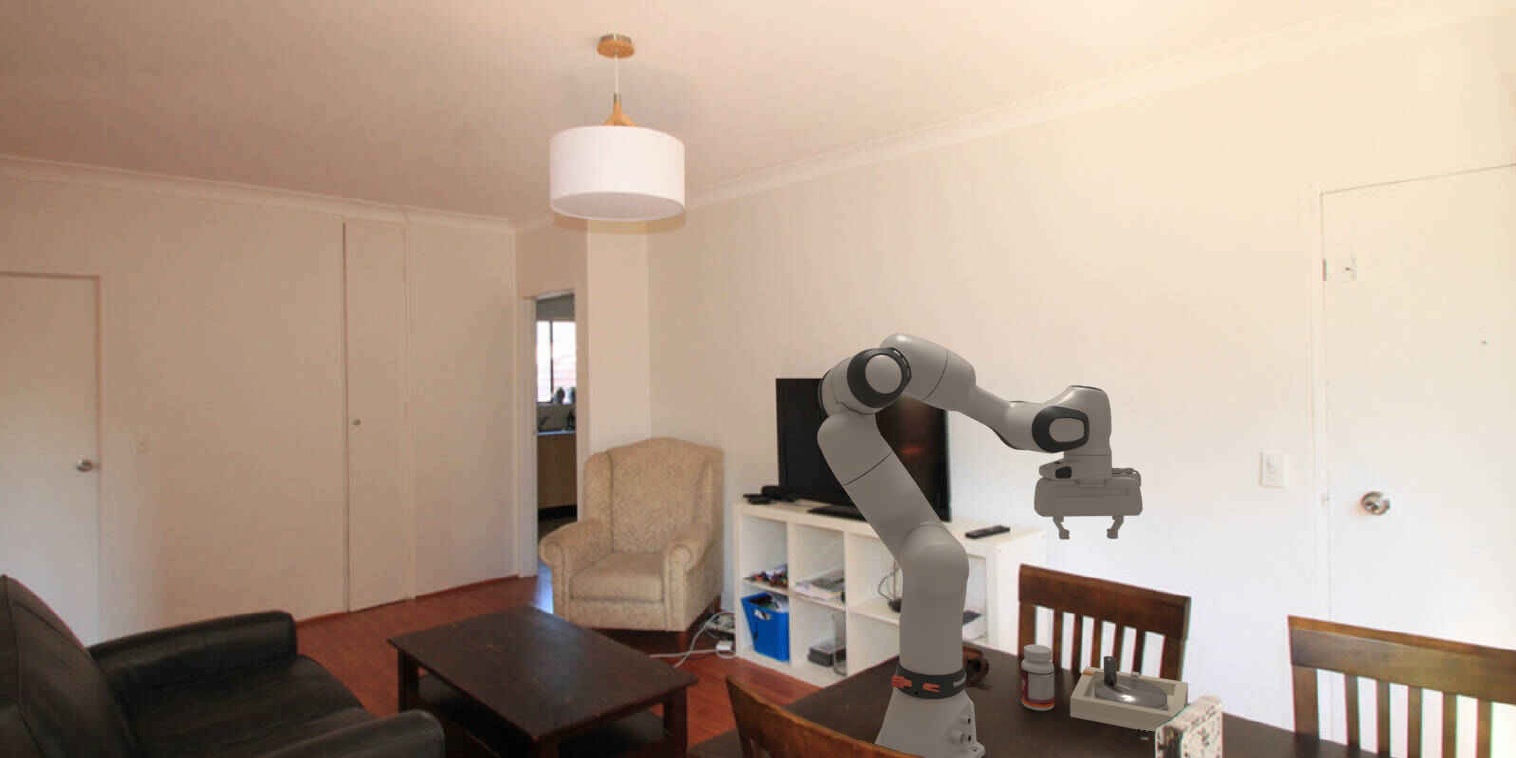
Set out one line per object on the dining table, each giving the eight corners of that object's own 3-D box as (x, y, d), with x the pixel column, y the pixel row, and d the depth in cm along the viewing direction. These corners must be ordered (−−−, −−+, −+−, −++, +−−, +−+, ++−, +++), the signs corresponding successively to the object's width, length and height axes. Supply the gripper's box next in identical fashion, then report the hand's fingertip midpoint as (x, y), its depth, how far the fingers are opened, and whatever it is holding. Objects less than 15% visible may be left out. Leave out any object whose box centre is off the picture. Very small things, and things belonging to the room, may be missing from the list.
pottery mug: (930, 681, 177) (936, 642, 180) (961, 693, 181) (966, 655, 184) (973, 683, 167) (978, 642, 171) (1004, 696, 171) (1008, 655, 175)
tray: (1182, 737, 147) (1181, 715, 147) (1070, 716, 157) (1070, 695, 157) (1187, 700, 164) (1187, 680, 163) (1086, 683, 173) (1086, 663, 173)
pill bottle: (1021, 697, 166) (1021, 642, 166) (1054, 701, 164) (1053, 644, 164) (1021, 709, 160) (1020, 652, 160) (1054, 713, 158) (1054, 655, 158)
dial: (1182, 705, 158) (1181, 669, 158) (1138, 720, 151) (1138, 682, 151) (1122, 683, 169) (1122, 649, 169) (1080, 696, 163) (1079, 661, 163)
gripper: (1133, 465, 164) (1134, 534, 164) (1030, 467, 164) (1031, 536, 164) (1148, 469, 157) (1149, 541, 158) (1041, 470, 158) (1042, 542, 158)
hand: (1088, 538), depth 161 cm, fingers open, 8 cm apart
